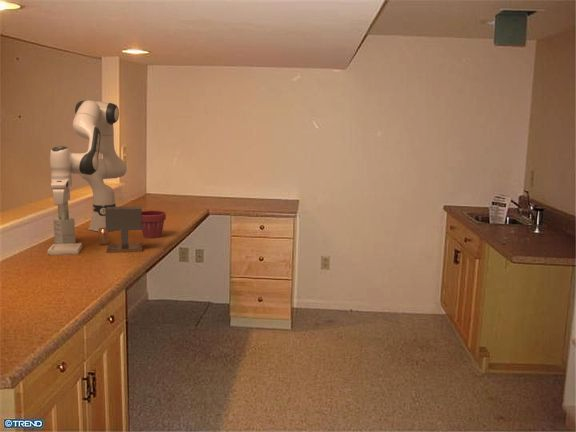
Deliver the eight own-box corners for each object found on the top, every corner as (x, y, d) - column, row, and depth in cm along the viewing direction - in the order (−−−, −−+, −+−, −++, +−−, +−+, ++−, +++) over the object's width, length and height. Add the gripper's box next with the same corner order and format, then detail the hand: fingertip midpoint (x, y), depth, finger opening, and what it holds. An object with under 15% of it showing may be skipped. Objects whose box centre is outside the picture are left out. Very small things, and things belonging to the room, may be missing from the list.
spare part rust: (99, 243, 283) (98, 227, 282) (109, 243, 284) (108, 227, 283) (98, 245, 279) (97, 229, 278) (108, 245, 280) (107, 229, 278)
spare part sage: (59, 218, 266) (58, 201, 264) (69, 217, 267) (68, 201, 265) (57, 219, 261) (56, 202, 260) (68, 219, 262) (67, 202, 261)
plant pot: (159, 240, 292) (158, 215, 290) (133, 238, 295) (133, 214, 293) (170, 234, 306) (169, 211, 304) (146, 233, 309) (145, 209, 307)
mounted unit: (109, 246, 276) (107, 206, 273) (143, 245, 280) (141, 205, 276) (106, 252, 265) (104, 210, 261) (142, 251, 268) (140, 209, 265)
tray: (53, 248, 272) (52, 244, 271) (82, 247, 274) (81, 243, 274) (47, 255, 259) (47, 250, 259) (77, 254, 262) (77, 249, 261)
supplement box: (68, 240, 289) (66, 216, 286) (76, 242, 284) (74, 217, 282) (54, 243, 283) (52, 218, 281) (62, 245, 278) (60, 219, 276)
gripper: (58, 180, 270) (60, 208, 273) (49, 185, 251) (51, 216, 253) (72, 179, 272) (74, 208, 274) (65, 185, 252) (66, 215, 254)
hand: (63, 212), depth 263 cm, fingers closed on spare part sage, 4 cm apart
